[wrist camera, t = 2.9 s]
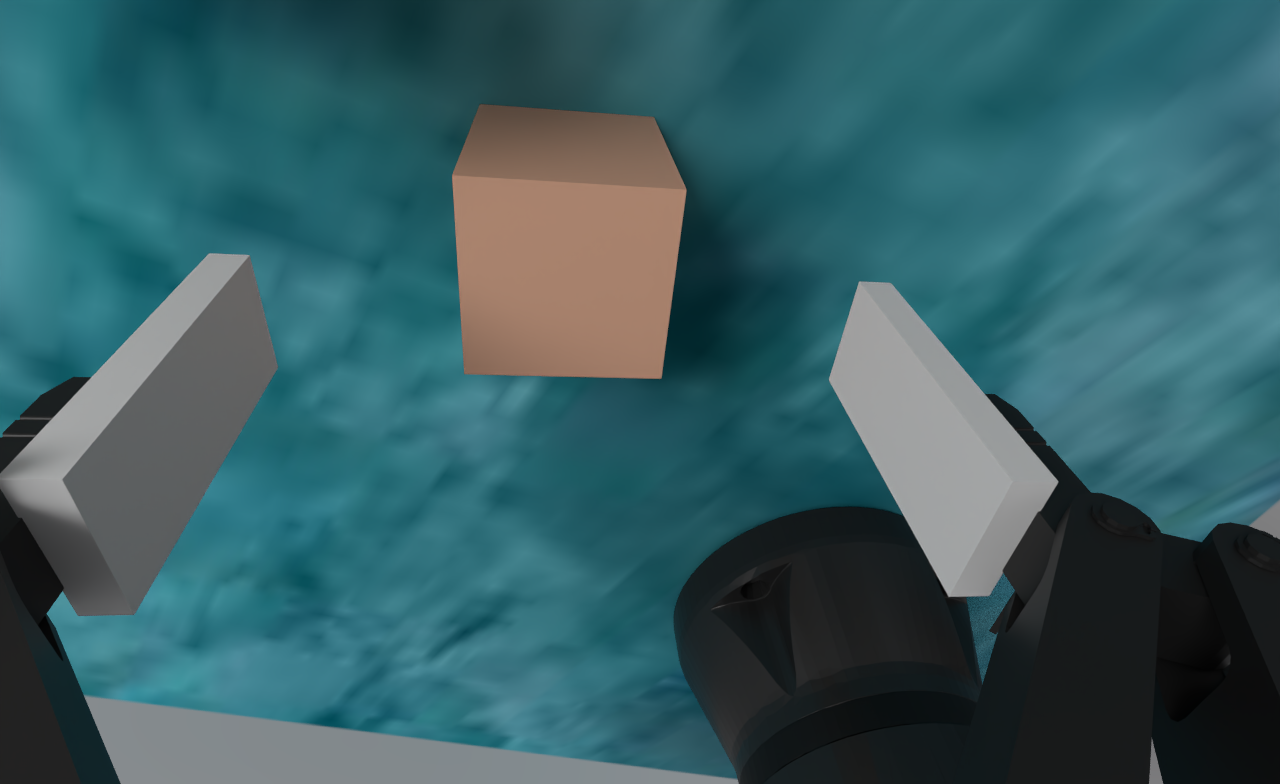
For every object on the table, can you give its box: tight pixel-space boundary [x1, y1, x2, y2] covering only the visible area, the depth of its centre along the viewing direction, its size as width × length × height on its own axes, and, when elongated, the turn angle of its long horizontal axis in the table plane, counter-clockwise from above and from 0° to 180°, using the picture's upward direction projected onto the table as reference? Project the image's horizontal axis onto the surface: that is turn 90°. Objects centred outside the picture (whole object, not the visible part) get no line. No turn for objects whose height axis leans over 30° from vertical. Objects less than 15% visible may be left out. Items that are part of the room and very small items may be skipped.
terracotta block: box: [452, 104, 687, 379], centre depth 21 cm, size 6×6×7 cm
